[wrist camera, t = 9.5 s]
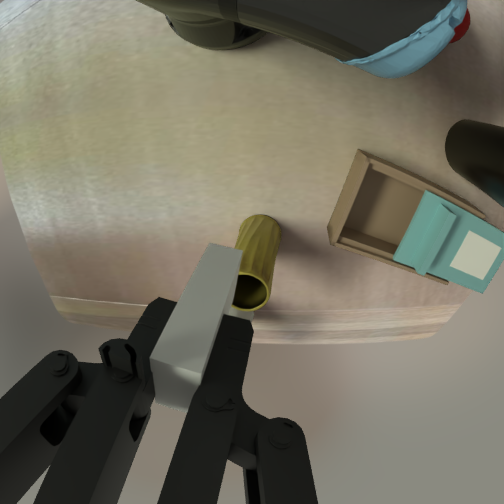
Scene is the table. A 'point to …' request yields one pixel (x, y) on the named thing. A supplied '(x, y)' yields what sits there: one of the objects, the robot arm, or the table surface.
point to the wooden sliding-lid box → (382, 209)
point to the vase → (256, 262)
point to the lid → (451, 244)
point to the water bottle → (478, 155)
